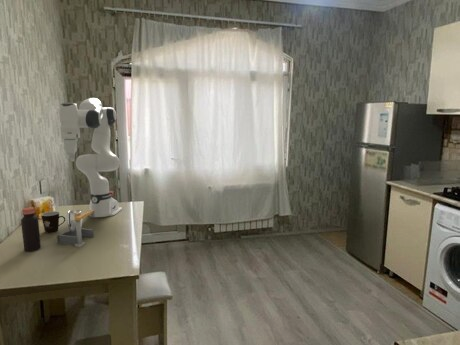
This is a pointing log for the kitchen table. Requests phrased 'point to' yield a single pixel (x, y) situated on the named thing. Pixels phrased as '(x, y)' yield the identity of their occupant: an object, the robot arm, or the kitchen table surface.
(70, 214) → the beer glass
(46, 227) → the coffee mug
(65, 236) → the cradle
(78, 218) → the bar
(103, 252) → the kitchen table surface
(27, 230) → the bottle
